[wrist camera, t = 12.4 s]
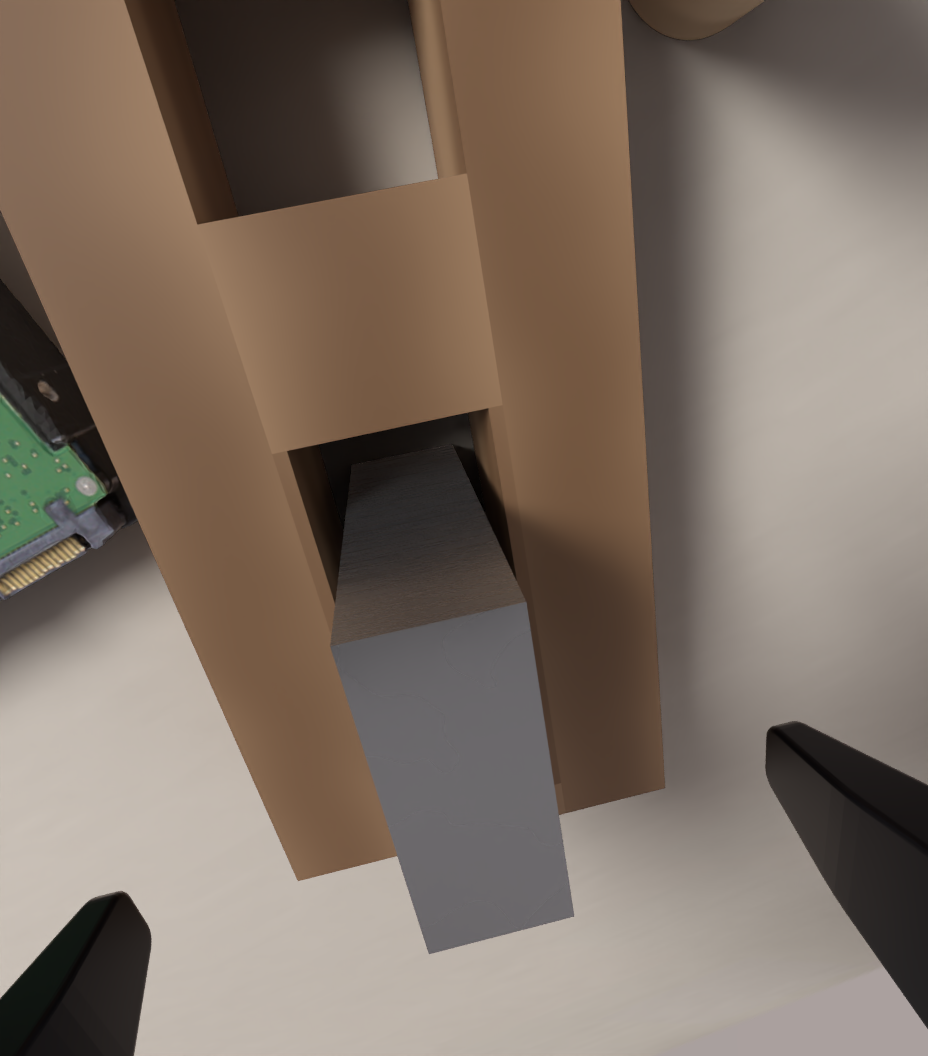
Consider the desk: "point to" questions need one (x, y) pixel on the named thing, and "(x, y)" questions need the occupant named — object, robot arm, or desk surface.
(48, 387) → the disk drive
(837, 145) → the desk surface
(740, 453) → the desk surface
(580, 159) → the socket board
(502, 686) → the tall grey rectangular prism
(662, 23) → the round dowel
